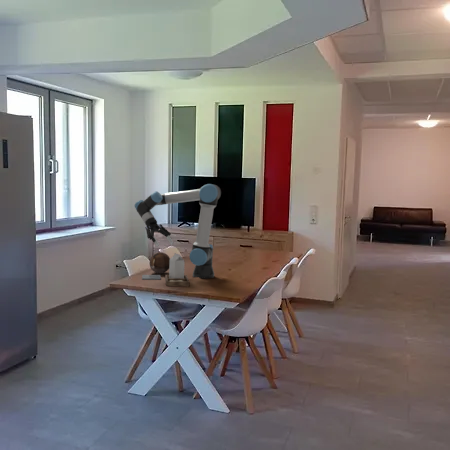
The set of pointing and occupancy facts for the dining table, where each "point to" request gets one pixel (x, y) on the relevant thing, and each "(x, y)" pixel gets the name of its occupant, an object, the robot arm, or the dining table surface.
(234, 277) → the dining table surface
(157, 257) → the wooden sphere
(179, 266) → the milk carton
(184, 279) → the walnut rack
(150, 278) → the slate tile
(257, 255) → the dining table surface
